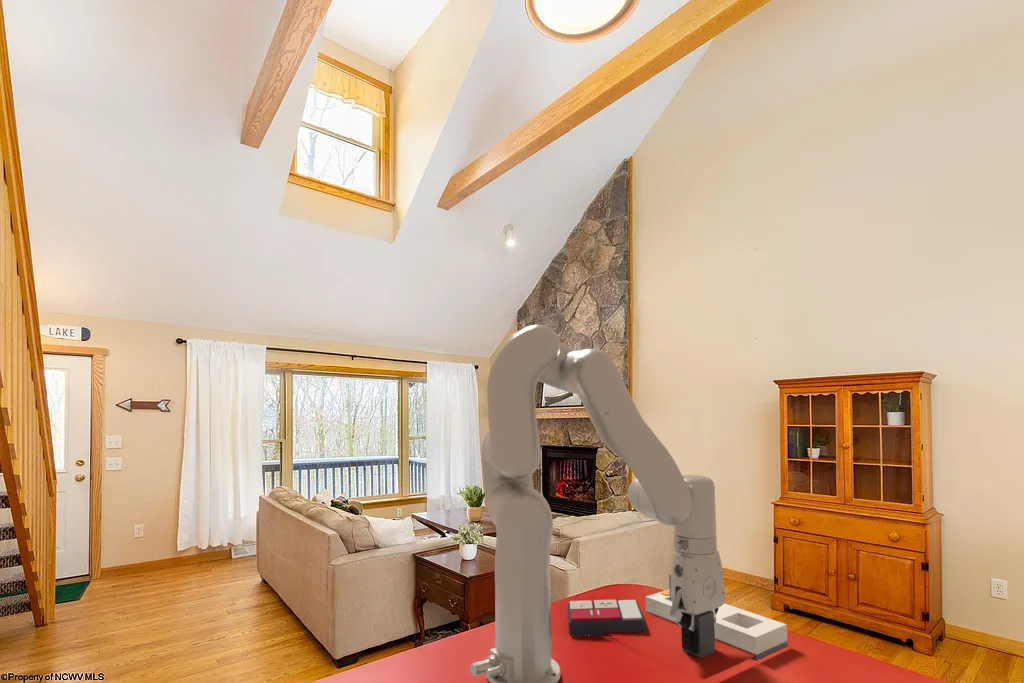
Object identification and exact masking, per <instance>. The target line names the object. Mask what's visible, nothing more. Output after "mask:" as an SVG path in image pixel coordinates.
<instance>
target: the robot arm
mask: <svg viewBox="0 0 1024 683" xmlns="http://www.w3.org/2000/svg"><path fill="white" fill-rule="evenodd" d="M560 343H561V342H560V340H559V337H558V334H557V333H556V331H555V330H553V328H551V327H549V326H547V325H544V324H532V325H531V324H530V325H528V326H525V327H523V328H522V329H520V330H518V331H516V332H515V333H513V334H511V336H510V337H509V338H507V340H506V343H505V344H504V345H503V346H502V347H501V349H500V351H499V352H498V353H497V355H496V356H495V359H494V360H493V362H492V365H491V366H490V367H491V368H490V369H489V370H490V371H489V373H488V377H487V384H486V402H487V418H488V431H487V432H486V433H485V435H484V438H482V443H481V452H480V453H481V465H482V473H483V475H482V477H483V484H484V486H483V487H484V488H483V489H484V496H485V504H486V509H487V512H488V516H489V519H490V520H491V522H492V523H493V524H494V526H495V529H496V540H495V541H496V543H495V551H494V552H495V555H494V556H495V557H494V583H495V584H494V585H495V588H494V594H495V595H494V598H495V600H494V603H495V605H494V609H495V614H494V616H495V620H494V621H495V623H494V625H495V628H494V629H495V647H493V648H490V649H489V656H487V657H486V658H485V659H484V660H479V661H475V662H473V663H471V664H470V668H469V669H470V674H471V675H472V676H473V677H477V676H480V675H483V674H485V677H486V678H487V680H488V682H489V683H558V682H559V681H560V679H561V667H560V665H559V663H558V662H557V661H556V660H555V659H553V658H552V636H551V635H552V632H551V631H552V630H551V629H552V623H551V620H552V619H551V618H552V617H551V616H552V615H551V614H552V613H551V545H552V537H553V524H554V523H553V514H552V509H551V507H550V504H549V503H548V501H547V499H546V498H545V497H544V495H543V494H542V493H540V492H539V491H538V490H536V489H535V488H534V480H533V479H534V477H533V474H534V472H536V471H537V468H538V467H539V466H540V462H541V456H542V452H541V442H540V436H539V428H538V418H537V409H536V407H537V406H536V390H537V385H538V382H539V383H542V384H545V385H547V386H550V387H552V388H555V389H559V390H562V391H564V392H568V393H570V394H576V395H577V396H578V398H579V399H580V402H581V404H582V405H583V408H584V410H585V412H586V413H587V415H588V417H589V419H590V421H591V424H592V425H593V428H594V429H595V431H596V433H597V436H598V437H599V439H600V440H601V441H602V443H603V444H604V445H605V447H607V448H608V449H609V450H610V451H611V452H612V453H613V454H615V455H616V456H618V458H620V459H621V461H623V463H624V464H626V466H627V467H628V468H629V469H630V471H631V472H632V473H633V475H634V477H635V479H633V480H632V481H631V482H630V484H629V486H628V490H627V498H628V502H629V503H630V505H631V507H632V508H634V510H635V511H637V512H638V513H640V514H642V515H643V516H646V517H647V518H650V519H652V520H654V521H656V522H658V523H661V524H662V525H667V526H673V548H674V551H673V555H672V556H673V557H672V562H671V563H672V565H671V598H672V607H671V610H670V616H671V617H672V618H674V619H676V620H677V622H678V623H679V624H678V626H679V627H681V628H680V630H681V647H682V648H683V649H685V650H687V651H690V652H692V653H694V654H697V653H698V630H695V626H696V615H699V614H702V613H705V612H708V611H712V612H714V623H715V622H716V614H717V612H718V608H719V607H721V606H722V605H723V604H725V603H726V602H725V601H726V592H725V581H724V571H723V564H722V560H721V555H720V552H719V550H718V547H717V546H718V544H717V540H718V538H717V517H716V516H717V513H716V512H717V510H716V489H715V488H716V487H715V483H714V480H713V479H711V478H710V477H708V476H706V475H705V476H704V475H697V474H687V475H682V473H681V471H680V468H679V466H678V465H677V463H676V461H675V460H674V458H673V457H672V455H671V453H670V451H668V449H667V448H666V446H665V444H663V443H662V442H661V440H660V439H659V438H658V436H657V435H656V434H655V433H654V431H653V430H652V429H651V428H650V426H649V425H648V424H647V423H646V422H645V420H644V418H643V417H642V415H641V413H640V411H639V410H638V407H637V406H636V404H635V402H634V400H633V398H632V396H631V394H630V392H629V389H628V388H627V386H626V384H625V382H624V380H623V378H622V376H621V373H620V372H619V370H618V368H617V366H616V364H615V363H614V361H613V358H612V357H611V356H610V355H609V354H608V353H607V352H605V351H604V350H602V349H599V348H585V349H584V348H583V349H575V348H571V347H569V346H565V345H563V344H560ZM686 614H689V615H690V618H689V619H688V618H687V617H686ZM714 641H715V642H716V639H715V632H714Z"/></svg>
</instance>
